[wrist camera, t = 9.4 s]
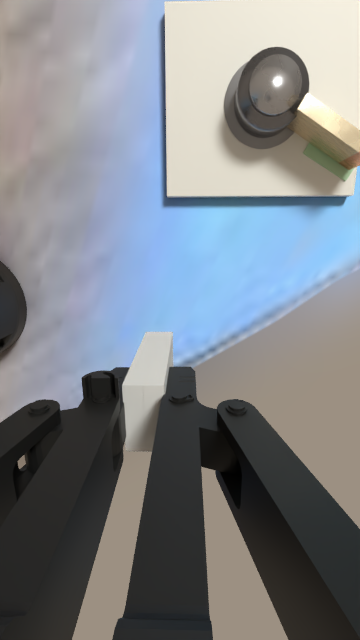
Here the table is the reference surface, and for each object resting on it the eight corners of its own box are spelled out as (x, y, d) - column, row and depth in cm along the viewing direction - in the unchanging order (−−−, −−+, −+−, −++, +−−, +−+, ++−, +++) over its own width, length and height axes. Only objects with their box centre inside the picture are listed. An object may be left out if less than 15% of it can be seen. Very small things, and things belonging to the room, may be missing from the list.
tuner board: (167, 197, 38) (166, 196, 37) (165, 9, 33) (164, 0, 32) (355, 196, 38) (361, 194, 36) (380, 5, 33) (388, -5, 32)
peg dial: (221, 115, 34) (226, 97, 30) (257, 50, 33) (267, 22, 28) (333, 191, 36) (353, 185, 32) (373, 133, 34) (399, 118, 30)
